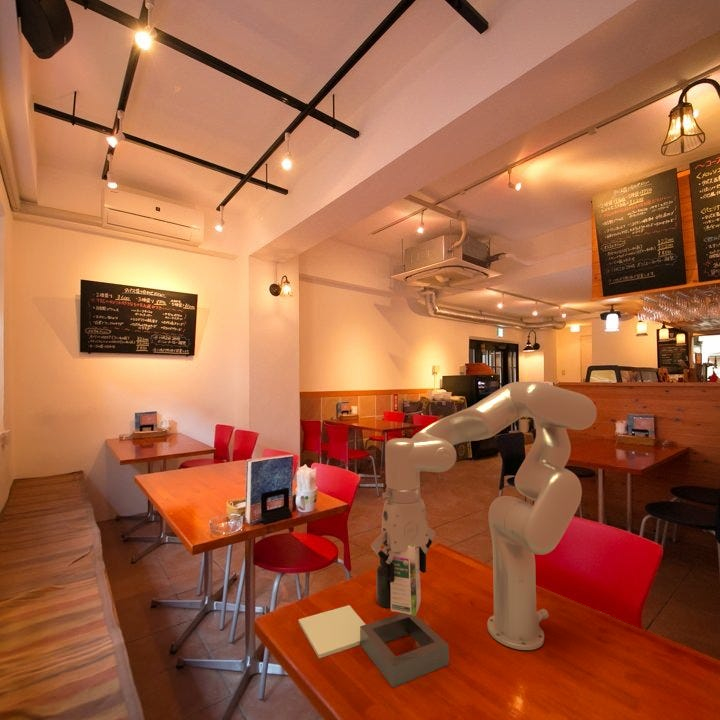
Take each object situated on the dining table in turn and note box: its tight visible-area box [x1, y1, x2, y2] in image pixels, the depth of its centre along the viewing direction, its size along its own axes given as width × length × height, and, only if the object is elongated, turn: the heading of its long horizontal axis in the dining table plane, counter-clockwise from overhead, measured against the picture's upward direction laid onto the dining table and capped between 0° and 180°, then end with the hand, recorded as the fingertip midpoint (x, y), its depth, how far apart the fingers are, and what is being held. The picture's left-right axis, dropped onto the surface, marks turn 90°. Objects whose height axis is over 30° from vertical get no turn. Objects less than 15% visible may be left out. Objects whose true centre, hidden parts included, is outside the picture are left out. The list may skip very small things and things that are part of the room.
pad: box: [298, 604, 367, 659], centre depth 92 cm, size 14×14×1 cm
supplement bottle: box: [375, 552, 391, 609], centre depth 105 cm, size 7×7×12 cm
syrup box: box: [389, 544, 422, 616], centre depth 86 cm, size 6×6×14 cm
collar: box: [359, 613, 450, 688], centre depth 85 cm, size 14×14×4 cm
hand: (405, 574), depth 86 cm, fingers closed on syrup box, 7 cm apart
